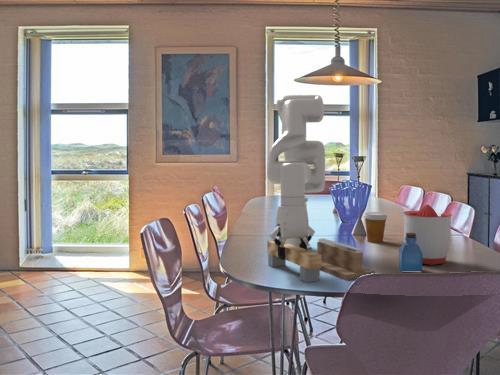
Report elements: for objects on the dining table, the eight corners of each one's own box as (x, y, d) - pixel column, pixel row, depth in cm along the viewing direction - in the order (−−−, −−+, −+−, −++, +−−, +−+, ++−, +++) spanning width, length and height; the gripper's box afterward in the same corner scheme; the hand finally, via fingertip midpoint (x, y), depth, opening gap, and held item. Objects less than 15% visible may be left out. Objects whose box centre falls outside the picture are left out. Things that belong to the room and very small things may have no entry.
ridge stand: (305, 264, 158) (305, 239, 157) (332, 260, 162) (332, 236, 162) (346, 280, 138) (346, 251, 137) (374, 275, 143) (375, 248, 142)
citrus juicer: (460, 260, 162) (461, 203, 161) (438, 269, 150) (440, 208, 149) (417, 253, 174) (418, 200, 172) (394, 261, 161) (395, 204, 160)
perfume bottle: (422, 273, 146) (422, 235, 145) (401, 272, 147) (402, 235, 146) (418, 268, 152) (419, 232, 151) (398, 267, 153) (399, 231, 152)
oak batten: (267, 252, 158) (267, 240, 157) (277, 251, 159) (277, 239, 159) (309, 269, 134) (309, 256, 134) (321, 268, 136) (321, 254, 136)
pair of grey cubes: (268, 265, 156) (268, 253, 156) (281, 263, 159) (281, 252, 158) (305, 282, 136) (305, 268, 136) (319, 280, 138) (319, 266, 138)
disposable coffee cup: (389, 243, 193) (390, 215, 192) (366, 243, 193) (367, 215, 192) (382, 239, 202) (383, 212, 202) (361, 239, 202) (361, 212, 202)
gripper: (309, 199, 153) (308, 252, 154) (262, 202, 145) (262, 258, 146) (322, 201, 146) (322, 257, 147) (274, 204, 138) (274, 263, 140)
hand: (292, 257), depth 147 cm, fingers open, 7 cm apart
